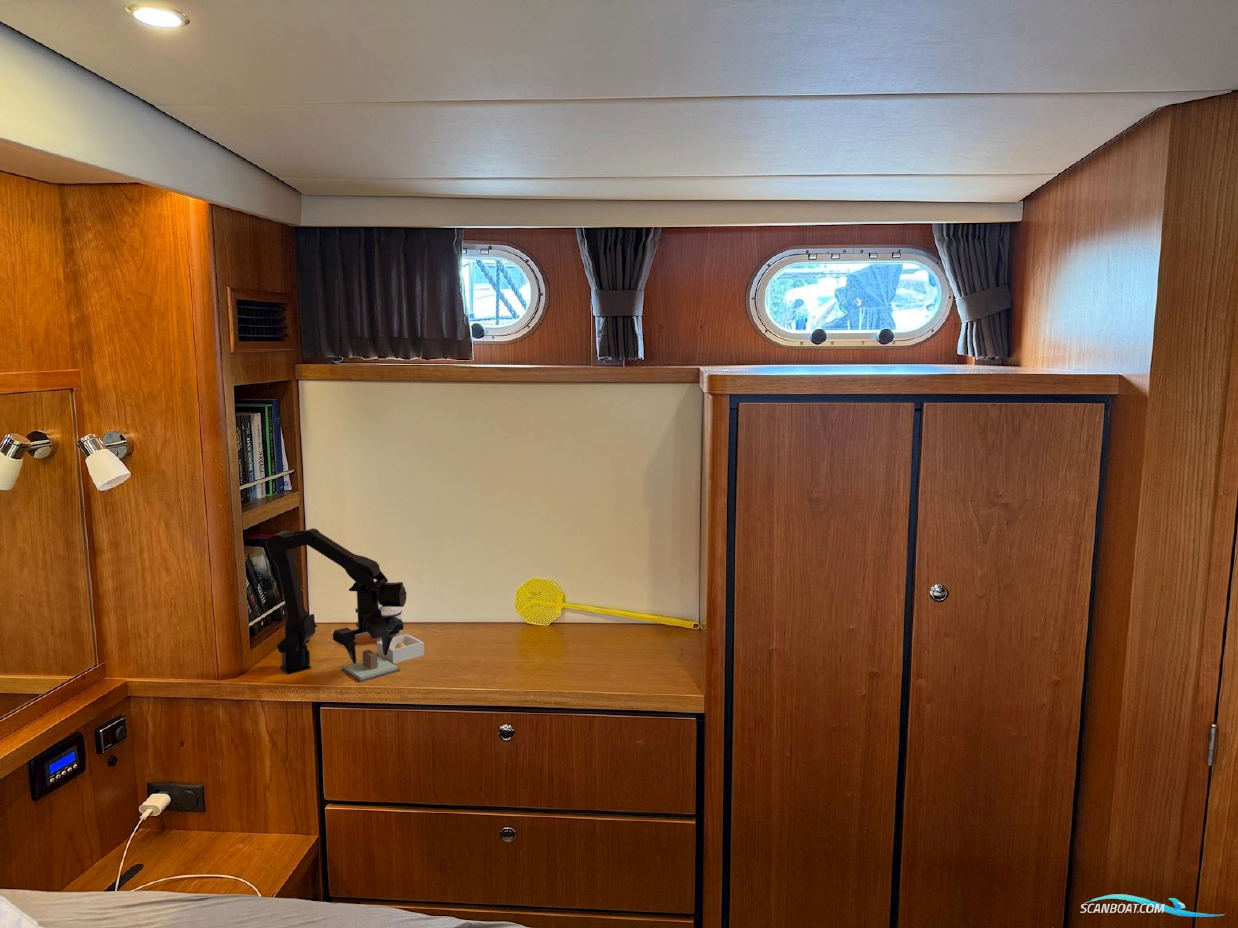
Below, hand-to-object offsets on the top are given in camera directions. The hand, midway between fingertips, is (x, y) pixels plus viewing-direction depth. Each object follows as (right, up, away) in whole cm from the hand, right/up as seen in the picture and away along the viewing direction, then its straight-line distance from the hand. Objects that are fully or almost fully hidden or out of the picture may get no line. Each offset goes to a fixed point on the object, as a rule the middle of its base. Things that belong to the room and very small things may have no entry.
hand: (370, 659), depth 222 cm
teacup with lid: (-3, 0, +28) cm, 28 cm away
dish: (+5, -2, +12) cm, 13 cm away
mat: (0, -3, 0) cm, 3 cm away
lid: (0, -3, 0) cm, 3 cm away
